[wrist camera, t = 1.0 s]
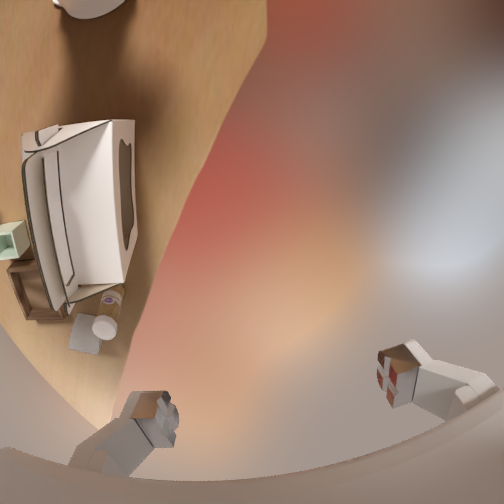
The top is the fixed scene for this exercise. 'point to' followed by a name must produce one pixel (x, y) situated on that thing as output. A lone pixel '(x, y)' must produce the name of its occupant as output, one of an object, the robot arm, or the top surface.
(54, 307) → the gable box
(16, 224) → the box
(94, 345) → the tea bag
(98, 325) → the sprinkles bottle
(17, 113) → the top surface
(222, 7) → the top surface
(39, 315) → the large crate
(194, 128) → the top surface
